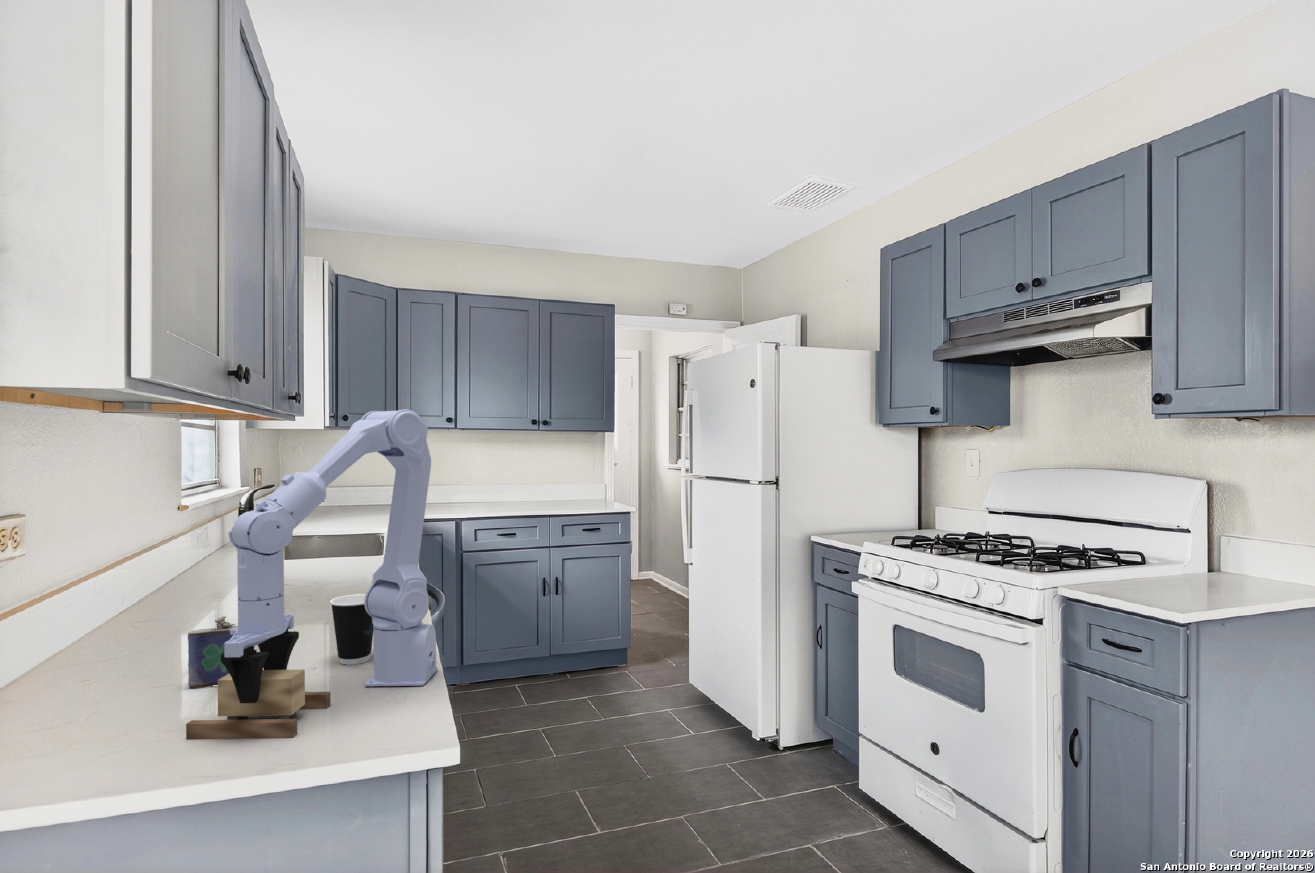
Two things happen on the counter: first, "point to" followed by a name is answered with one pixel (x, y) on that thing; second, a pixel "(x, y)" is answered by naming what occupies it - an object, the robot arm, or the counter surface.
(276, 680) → the light wooden block
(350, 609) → the dixie cup
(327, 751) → the counter surface
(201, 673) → the flask
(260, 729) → the peg frame
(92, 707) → the counter surface
